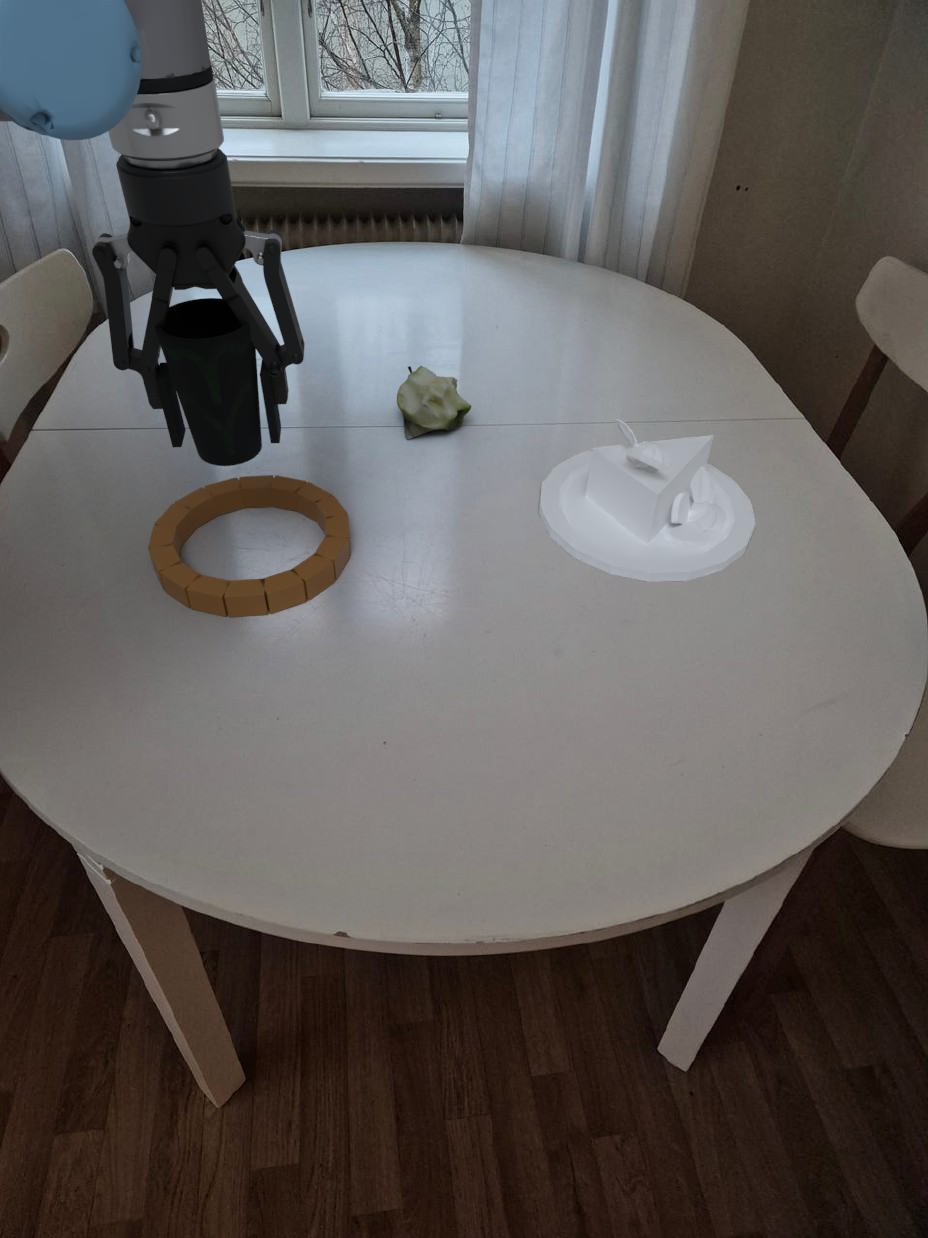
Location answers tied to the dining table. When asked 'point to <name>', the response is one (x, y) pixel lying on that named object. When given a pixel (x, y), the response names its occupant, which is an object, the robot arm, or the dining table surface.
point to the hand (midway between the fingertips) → (227, 436)
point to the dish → (647, 509)
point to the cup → (214, 379)
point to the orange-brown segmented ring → (250, 593)
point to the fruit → (430, 403)
